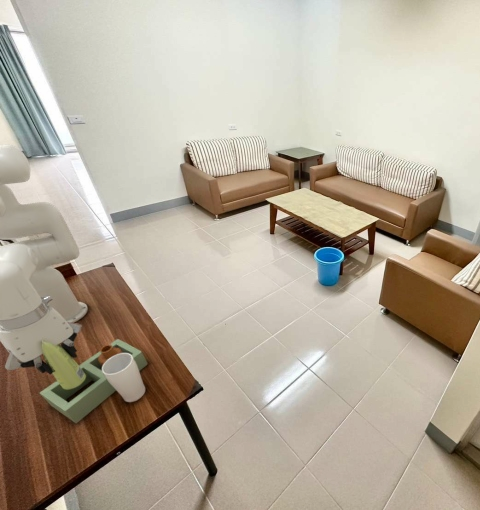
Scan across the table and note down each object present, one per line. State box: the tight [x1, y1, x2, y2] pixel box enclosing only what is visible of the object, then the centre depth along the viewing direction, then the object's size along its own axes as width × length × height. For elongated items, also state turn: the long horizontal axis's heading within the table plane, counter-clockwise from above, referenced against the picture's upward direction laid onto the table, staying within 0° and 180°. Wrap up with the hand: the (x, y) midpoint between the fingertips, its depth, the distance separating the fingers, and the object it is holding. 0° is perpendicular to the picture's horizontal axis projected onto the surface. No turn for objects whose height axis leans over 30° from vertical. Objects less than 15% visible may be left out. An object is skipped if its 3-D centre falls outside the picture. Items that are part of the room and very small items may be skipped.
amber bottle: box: [98, 344, 122, 366], centre depth 81 cm, size 5×5×11 cm
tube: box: [41, 340, 86, 389], centre depth 68 cm, size 6×5×20 cm
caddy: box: [39, 338, 148, 424], centre depth 79 cm, size 11×20×6 cm, turn 157°
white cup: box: [102, 353, 146, 403], centre depth 75 cm, size 7×7×15 cm
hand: (60, 362), depth 69 cm, fingers closed on tube, 4 cm apart
